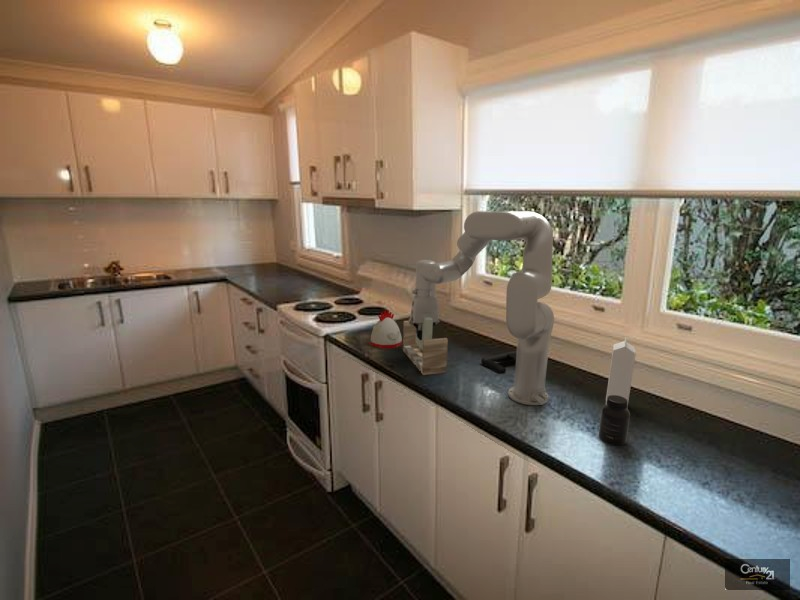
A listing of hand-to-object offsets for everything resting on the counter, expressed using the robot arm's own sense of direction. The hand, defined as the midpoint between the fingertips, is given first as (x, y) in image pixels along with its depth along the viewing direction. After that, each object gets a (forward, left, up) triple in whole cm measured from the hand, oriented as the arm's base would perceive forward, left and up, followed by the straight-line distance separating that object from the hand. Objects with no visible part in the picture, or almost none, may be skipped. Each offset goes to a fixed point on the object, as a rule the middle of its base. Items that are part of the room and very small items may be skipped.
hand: (423, 338), depth 166 cm
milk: (-50, -47, -10) cm, 69 cm away
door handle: (-13, -32, -10) cm, 36 cm away
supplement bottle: (-66, -31, -10) cm, 74 cm away
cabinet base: (0, 0, -9) cm, 9 cm away
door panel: (0, 0, -4) cm, 4 cm away
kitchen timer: (+24, +9, -10) cm, 27 cm away
